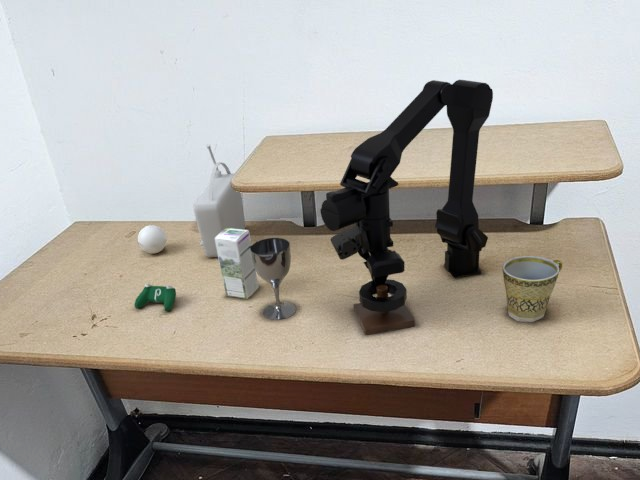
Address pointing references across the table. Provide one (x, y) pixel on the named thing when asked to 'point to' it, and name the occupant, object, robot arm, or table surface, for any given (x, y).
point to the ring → (387, 302)
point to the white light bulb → (152, 239)
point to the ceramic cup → (529, 286)
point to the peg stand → (383, 316)
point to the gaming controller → (156, 296)
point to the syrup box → (236, 263)
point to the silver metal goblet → (273, 272)
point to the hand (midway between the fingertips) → (377, 286)
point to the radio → (218, 208)
